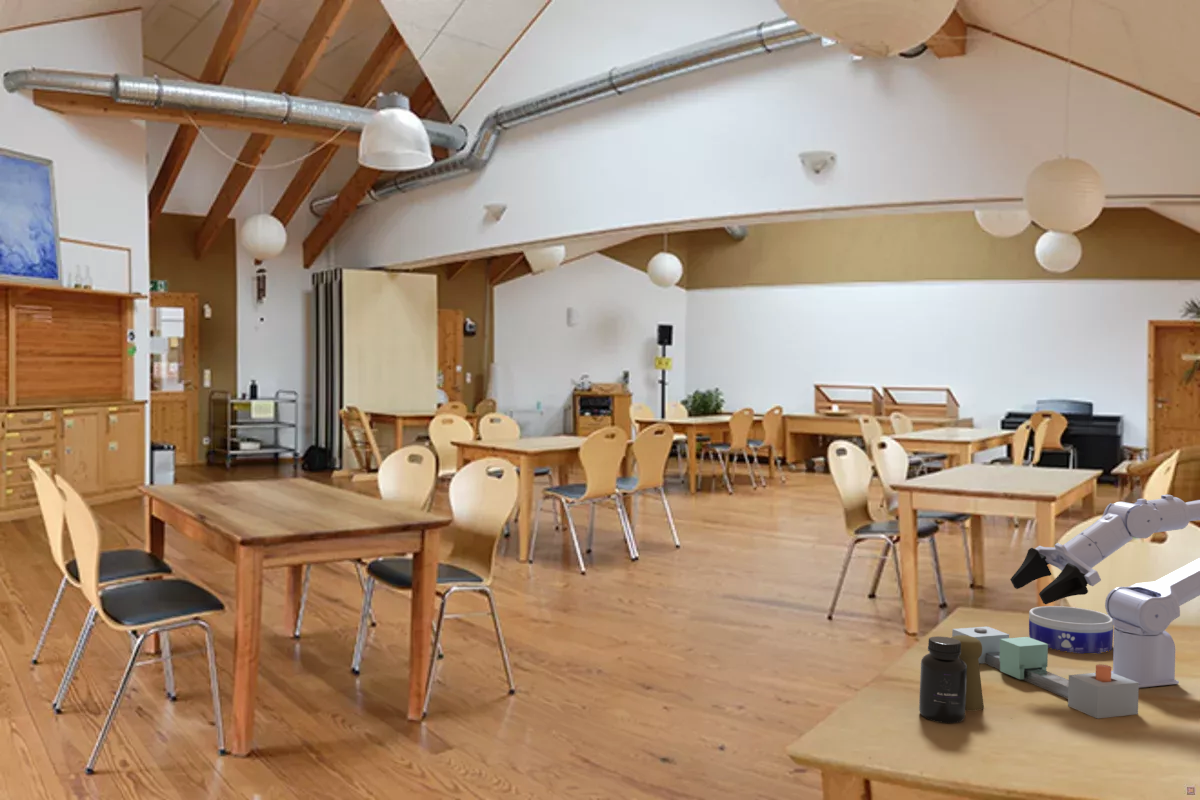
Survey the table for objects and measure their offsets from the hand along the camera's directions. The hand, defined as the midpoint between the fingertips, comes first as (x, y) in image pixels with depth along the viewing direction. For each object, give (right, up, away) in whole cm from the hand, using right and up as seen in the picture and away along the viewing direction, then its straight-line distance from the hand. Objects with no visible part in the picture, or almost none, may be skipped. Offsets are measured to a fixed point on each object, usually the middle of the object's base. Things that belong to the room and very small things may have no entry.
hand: (1027, 591), depth 166 cm
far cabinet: (-2, -16, +16) cm, 22 cm away
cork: (-15, -16, -10) cm, 24 cm away
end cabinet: (+7, -16, -12) cm, 22 cm away
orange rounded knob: (+7, -13, -12) cm, 19 cm away
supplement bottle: (-21, -16, -16) cm, 31 cm away
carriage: (+1, -16, +5) cm, 17 cm away
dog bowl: (+21, -16, +27) cm, 38 cm away
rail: (+2, -16, +2) cm, 16 cm away
